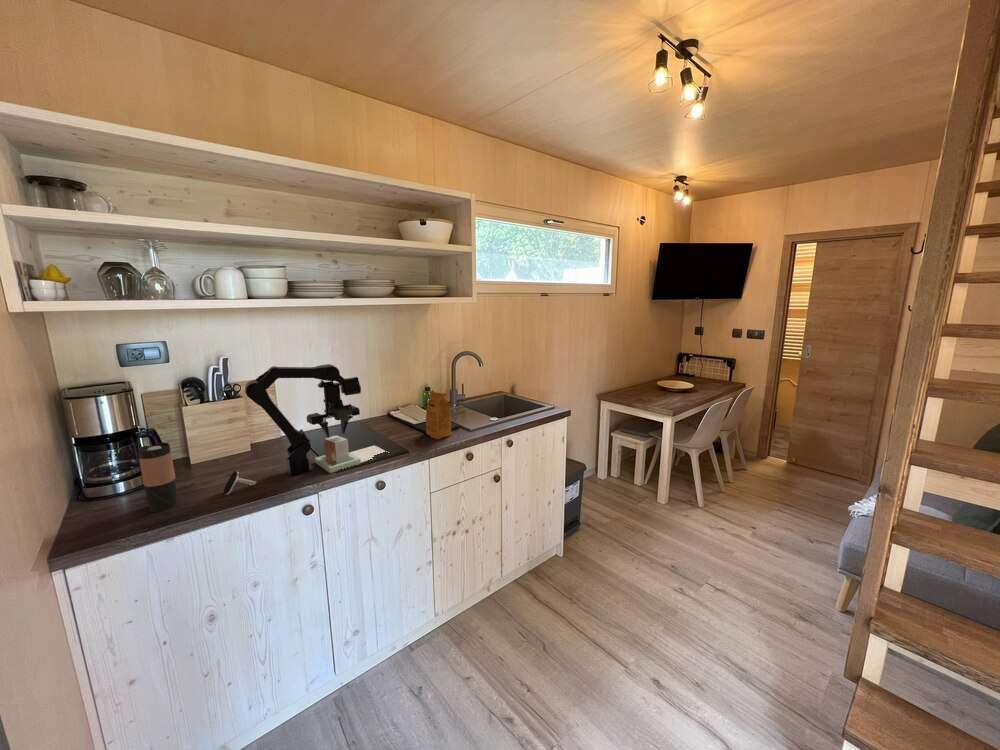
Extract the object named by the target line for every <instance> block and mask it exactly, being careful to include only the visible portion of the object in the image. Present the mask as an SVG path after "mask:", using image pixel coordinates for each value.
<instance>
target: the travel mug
mask: <svg viewBox="0 0 1000 750" xmlns="http://www.w3.org/2000/svg"><path fill="white" fill-rule="evenodd" d="M137 454H138V459H139V465H140V466H139V467H140V472H141V478H142V482H143V483H142V484H143V488H144V493H145V496H146V501H147V505H148V509H149V512H153V513H155V512H156V513H158V512H163V511H167V510H168V511H169V510H170V509H173V508H174V507H176V506H178V504H179V495H178V489H177V488H178V487H177V479H176V473H175V467H174V462H173V456H172V452H171V445H170V443H168V442H157V443H155V444H154V445H153V444H152V445H143V446H140V447H139V448H138V449H137Z"/></svg>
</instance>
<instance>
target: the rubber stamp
mask: <svg viewBox="0 0 1000 750" xmlns="http://www.w3.org/2000/svg"><path fill="white" fill-rule="evenodd" d="M239 474H240V472H239V471H234V472H233V473H232V474H231V475H230V477H229V479H228V481H227V482H226V483H225V487H224V489H223V494H224V495H225V496H228V495H229V494H231V492H232V491H233V488H234V487H235V485H236V483H241V484H246V485H249V486H255V485H256V484H257V481H255V480H251V479H246V478H241V477H239Z"/></svg>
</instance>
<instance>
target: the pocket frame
mask: <svg viewBox="0 0 1000 750" xmlns="http://www.w3.org/2000/svg"><path fill="white" fill-rule="evenodd" d="M314 463H315V464H316V465H318V466H319V467H321V468H322V469H324V470H325V471H326V472H328V473H330V474H332V473H336V472H339V471H341V470H340V469H342V470H345V469H347V467H348V468H350V467H351V466H352V467H355V466H358V465H360V464H361V459H359V458H358V457H356V456H354V455H353V454H351V453H349V461H347V462H343V463H340V464H337V465H333V466H332V465H330V464H329V463H327V462H326V456H325V454H323V455H321V456H317V457H314ZM354 465H355V466H354ZM361 465H362V464H361ZM344 468H345V469H344ZM338 470H339V471H338Z"/></svg>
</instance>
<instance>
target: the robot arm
mask: <svg viewBox="0 0 1000 750" xmlns="http://www.w3.org/2000/svg"><path fill="white" fill-rule="evenodd" d="M340 372H341V371H340V370H339V368H338V367H337V366H334V365H333V364H330V363H327V364H320V365H317V366H308V367H307V366H303V367H302V366H299V367H298V366H297V367H296V366H290V367H289V366H275V365H274V366H271V367H269V368H268V369H267V370H266V371H265V372H264V373H262V374H261V375H259V376H257V378H255V379H253V380H249V381H248V382H247V383H246V384H245V386H244V391H245V395H246V396H247V398H249V399H250V400H251V401H252V402H254V403H255V404H256V405H258V406H260V407H261V408H262V409H263V410H264V411H265V413H266V414H267V415H268V416H269V418H271V420H272V421H273V422H274V423H275V425H276V426H278V428H279V429H280V430H281V432H282V433H283V434H284V435H285V436H286V437H287V440H288V441H289V443H290V445H289V447H288V448H286V454H287V457H286V458H285V459H286V466H287V470H286V473H287V474H288V475H289V476H290V477H291V478H293V477H297V476H301V475H303V474H307V473H309V472H311V471H310V463H309V462H310V461H309V458H308V456H307V454H308V453H309V452H310V451H311V449H312V448H311V447H312V444H311V438H310V437H309V435H307V434H306V433H305V432H304V430H303V428H300V430H298V429H296V427H294V425H292V423H291V422H290V420H289V419H288V418H287V417H286V416H285V415H284V414H283V412H282V410H280V409H279V408H278V406H277V405H276V404H275V403H274V401H273V400H272V399H271V397H270V395H269V393H268V391H267V390H268V389H269V388H270V387H271V386H272V385H273V383H275V382H276V380H278V379H317V380H320V382H319V383H318V384H317V387H318V388H320V389H321V388H322V389H323V397H324V398H323V403H324V408H325V409H324V413H323V414H321V413H319V412H313V413H311V414H307V415H306V423H308V424H311V425H312V426H313V425H314V426H315V425H319V426H320V427H321V429H322V431H323V433H324V435H325V437H326V438H329V437H330V432H329V427H328V425H329V422H328V421H327V419H331V418H333V419H334V420H335V421H340V426H341V427H340V428H341V433H342V434H343V435H345V433H346V429H347V426H348V423H349V421H350V420H351V419H353V418H354V417H355V416H359V415H360V413H361V410H360V409H359V408H360V407H357V406H354V405H352V403H350V404H345V405H344V402H343V400H342V398H341V394H343V395H344V396H353V395H359V394H361V392H362V389H361V388H362V387H361V384H360V381H359V377H357V376H353V377H348V378H347V377H346V378H345V377H343V376H341V374H340Z"/></svg>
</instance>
